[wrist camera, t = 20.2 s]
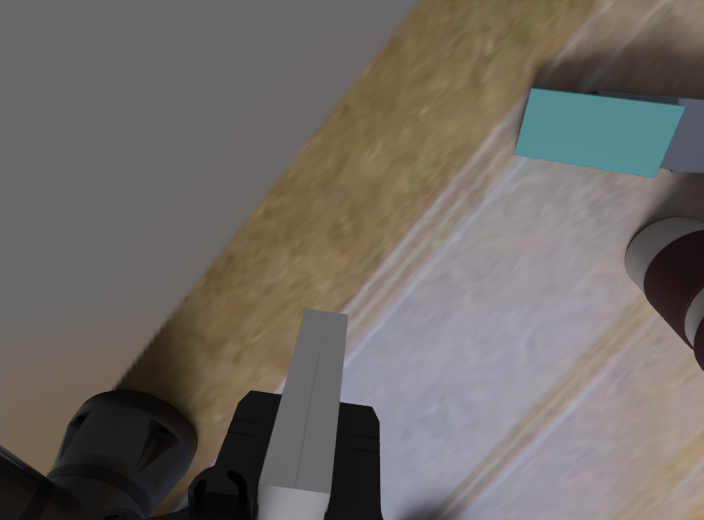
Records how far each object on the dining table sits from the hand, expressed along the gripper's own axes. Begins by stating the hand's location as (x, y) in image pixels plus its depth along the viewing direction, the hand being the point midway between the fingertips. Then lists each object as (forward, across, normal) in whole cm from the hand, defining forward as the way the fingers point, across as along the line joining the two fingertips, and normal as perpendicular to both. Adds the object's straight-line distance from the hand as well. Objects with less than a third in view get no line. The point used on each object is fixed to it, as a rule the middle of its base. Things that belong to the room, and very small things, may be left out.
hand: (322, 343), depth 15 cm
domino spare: (+24, +13, +6) cm, 27 cm away
